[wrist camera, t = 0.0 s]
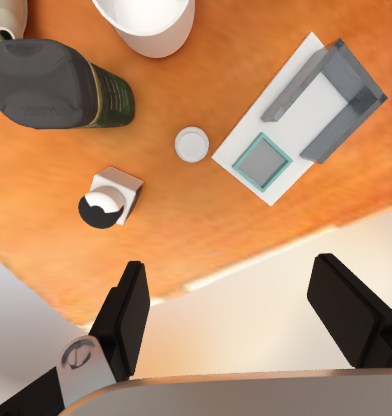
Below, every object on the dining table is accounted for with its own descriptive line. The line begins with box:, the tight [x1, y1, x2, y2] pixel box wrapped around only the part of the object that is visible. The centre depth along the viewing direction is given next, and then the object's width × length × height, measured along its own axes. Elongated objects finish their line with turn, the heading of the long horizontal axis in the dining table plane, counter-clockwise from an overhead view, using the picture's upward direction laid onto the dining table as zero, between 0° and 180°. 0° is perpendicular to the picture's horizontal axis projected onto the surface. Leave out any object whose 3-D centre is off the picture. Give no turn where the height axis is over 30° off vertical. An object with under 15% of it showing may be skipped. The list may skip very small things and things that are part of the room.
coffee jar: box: [0, 38, 134, 129], centre depth 27 cm, size 10×8×19 cm
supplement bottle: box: [175, 126, 209, 162], centre depth 34 cm, size 5×5×10 cm
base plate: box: [211, 32, 348, 206], centre depth 37 cm, size 24×16×3 cm, turn 142°
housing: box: [261, 38, 387, 164], centre depth 33 cm, size 12×11×6 cm
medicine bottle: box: [78, 166, 144, 229], centre depth 36 cm, size 7×7×12 cm
